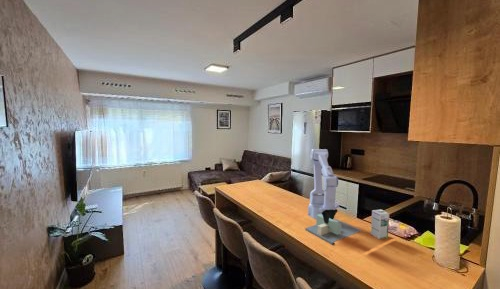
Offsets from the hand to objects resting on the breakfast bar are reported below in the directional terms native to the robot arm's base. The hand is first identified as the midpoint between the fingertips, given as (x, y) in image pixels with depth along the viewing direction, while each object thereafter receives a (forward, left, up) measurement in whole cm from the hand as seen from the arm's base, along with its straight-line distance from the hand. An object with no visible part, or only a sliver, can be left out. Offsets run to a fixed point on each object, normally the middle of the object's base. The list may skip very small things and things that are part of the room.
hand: (328, 222), depth 124 cm
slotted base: (0, +5, -6) cm, 8 cm away
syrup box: (+17, +20, -6) cm, 27 cm away
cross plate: (0, 0, -4) cm, 4 cm away
